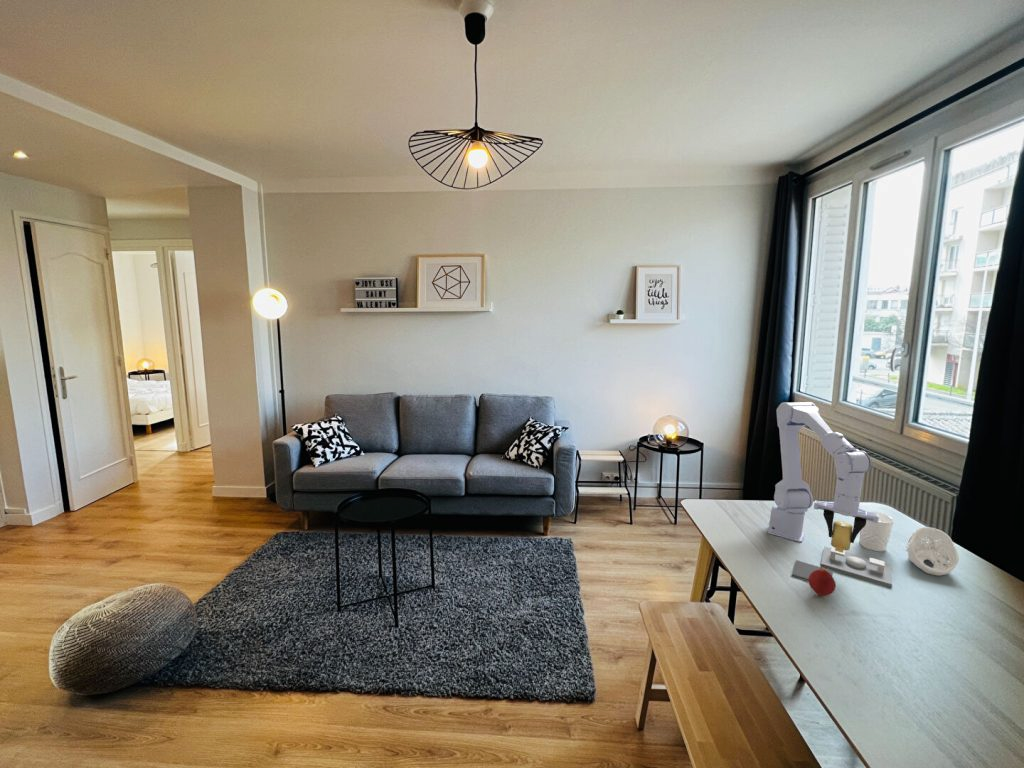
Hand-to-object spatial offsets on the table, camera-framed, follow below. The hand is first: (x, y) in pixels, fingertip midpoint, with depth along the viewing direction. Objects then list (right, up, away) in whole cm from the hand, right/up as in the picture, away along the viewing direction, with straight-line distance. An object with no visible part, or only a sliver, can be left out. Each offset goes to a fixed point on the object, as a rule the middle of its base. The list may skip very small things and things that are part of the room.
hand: (841, 538), depth 130 cm
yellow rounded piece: (0, -2, +1) cm, 2 cm away
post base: (+7, -10, +4) cm, 12 cm away
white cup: (+21, -8, +15) cm, 27 cm away
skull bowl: (+29, -10, +5) cm, 31 cm away
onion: (-12, -12, -9) cm, 20 cm away
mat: (-8, -10, 0) cm, 13 cm away
